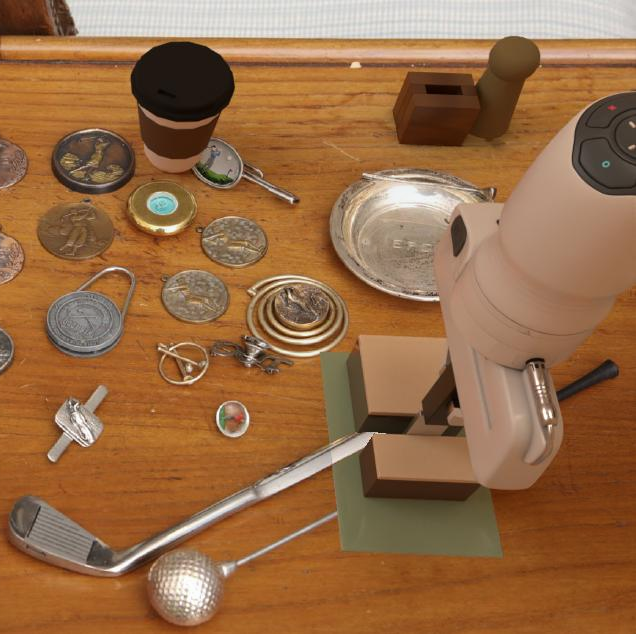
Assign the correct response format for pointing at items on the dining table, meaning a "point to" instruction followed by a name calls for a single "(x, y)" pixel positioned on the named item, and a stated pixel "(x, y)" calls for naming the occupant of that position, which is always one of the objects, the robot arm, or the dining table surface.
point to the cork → (503, 84)
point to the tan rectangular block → (417, 468)
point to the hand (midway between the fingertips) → (452, 397)
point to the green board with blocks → (393, 418)
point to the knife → (435, 407)
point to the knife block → (436, 108)
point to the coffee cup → (180, 101)
